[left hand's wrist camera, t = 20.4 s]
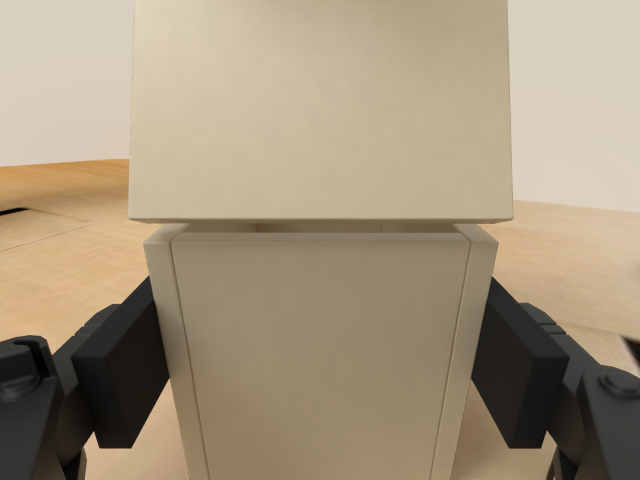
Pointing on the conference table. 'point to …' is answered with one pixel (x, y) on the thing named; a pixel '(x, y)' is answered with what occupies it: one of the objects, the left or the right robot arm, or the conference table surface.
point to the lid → (320, 112)
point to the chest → (320, 345)
